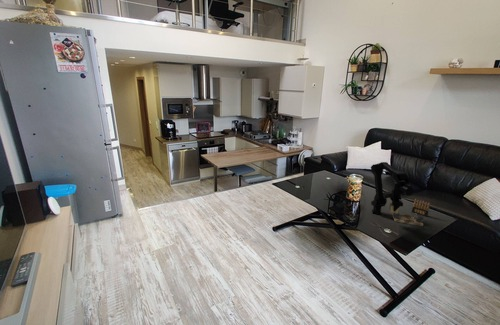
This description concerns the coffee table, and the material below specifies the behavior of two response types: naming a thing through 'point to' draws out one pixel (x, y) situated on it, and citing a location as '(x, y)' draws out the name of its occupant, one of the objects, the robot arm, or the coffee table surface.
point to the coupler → (392, 208)
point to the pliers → (381, 227)
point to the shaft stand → (408, 218)
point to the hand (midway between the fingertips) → (393, 209)
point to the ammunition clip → (420, 208)
